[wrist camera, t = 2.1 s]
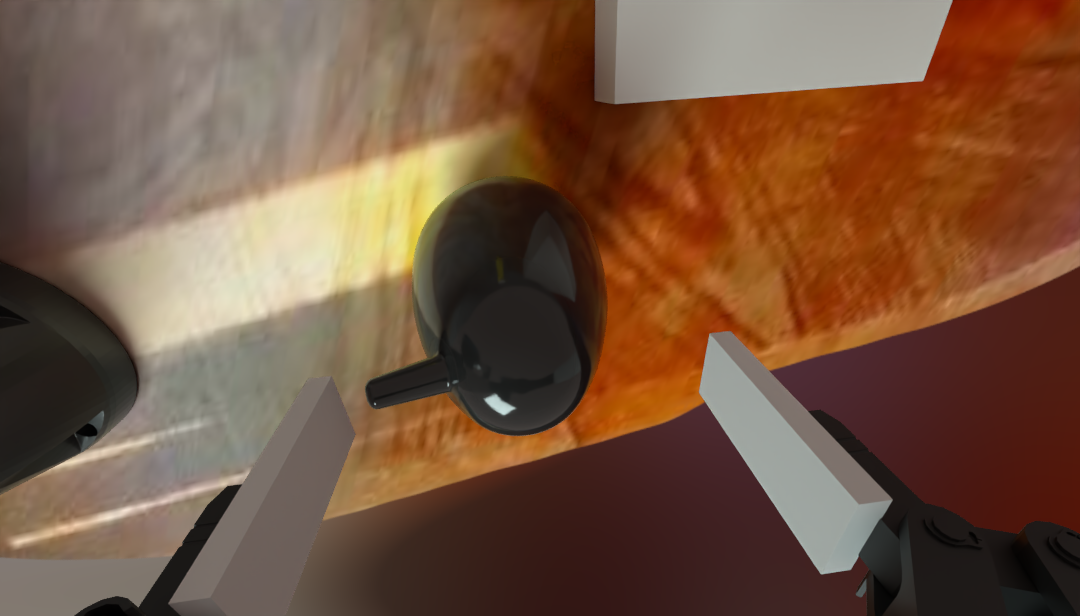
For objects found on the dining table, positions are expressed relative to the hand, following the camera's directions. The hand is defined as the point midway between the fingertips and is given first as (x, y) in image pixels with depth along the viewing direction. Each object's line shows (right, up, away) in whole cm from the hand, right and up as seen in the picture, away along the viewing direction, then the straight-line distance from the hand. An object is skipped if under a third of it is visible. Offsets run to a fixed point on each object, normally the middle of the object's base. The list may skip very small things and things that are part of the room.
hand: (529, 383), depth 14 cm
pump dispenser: (-2, +7, +12) cm, 14 cm away
